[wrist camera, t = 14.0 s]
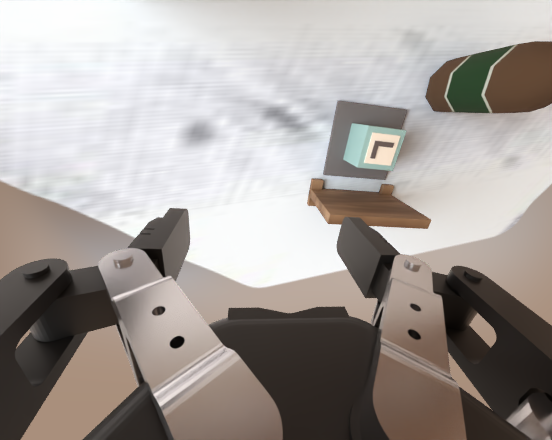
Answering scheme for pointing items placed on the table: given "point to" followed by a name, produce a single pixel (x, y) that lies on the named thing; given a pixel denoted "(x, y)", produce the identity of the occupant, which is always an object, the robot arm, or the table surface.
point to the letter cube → (373, 146)
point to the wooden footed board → (365, 207)
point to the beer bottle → (495, 81)
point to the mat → (341, 130)
